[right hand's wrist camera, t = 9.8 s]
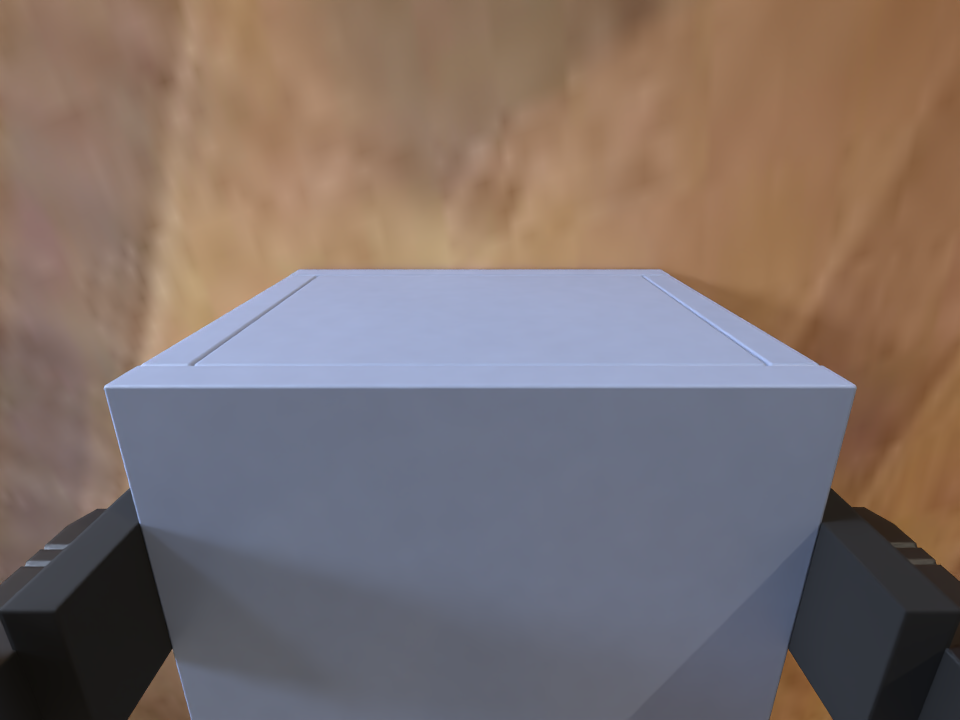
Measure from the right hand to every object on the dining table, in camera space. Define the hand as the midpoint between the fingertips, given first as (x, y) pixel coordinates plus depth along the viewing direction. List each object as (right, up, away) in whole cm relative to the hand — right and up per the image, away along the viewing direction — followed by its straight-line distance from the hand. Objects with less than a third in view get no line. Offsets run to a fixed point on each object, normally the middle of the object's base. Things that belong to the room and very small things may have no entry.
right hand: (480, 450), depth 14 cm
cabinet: (0, -4, +6) cm, 7 cm away
